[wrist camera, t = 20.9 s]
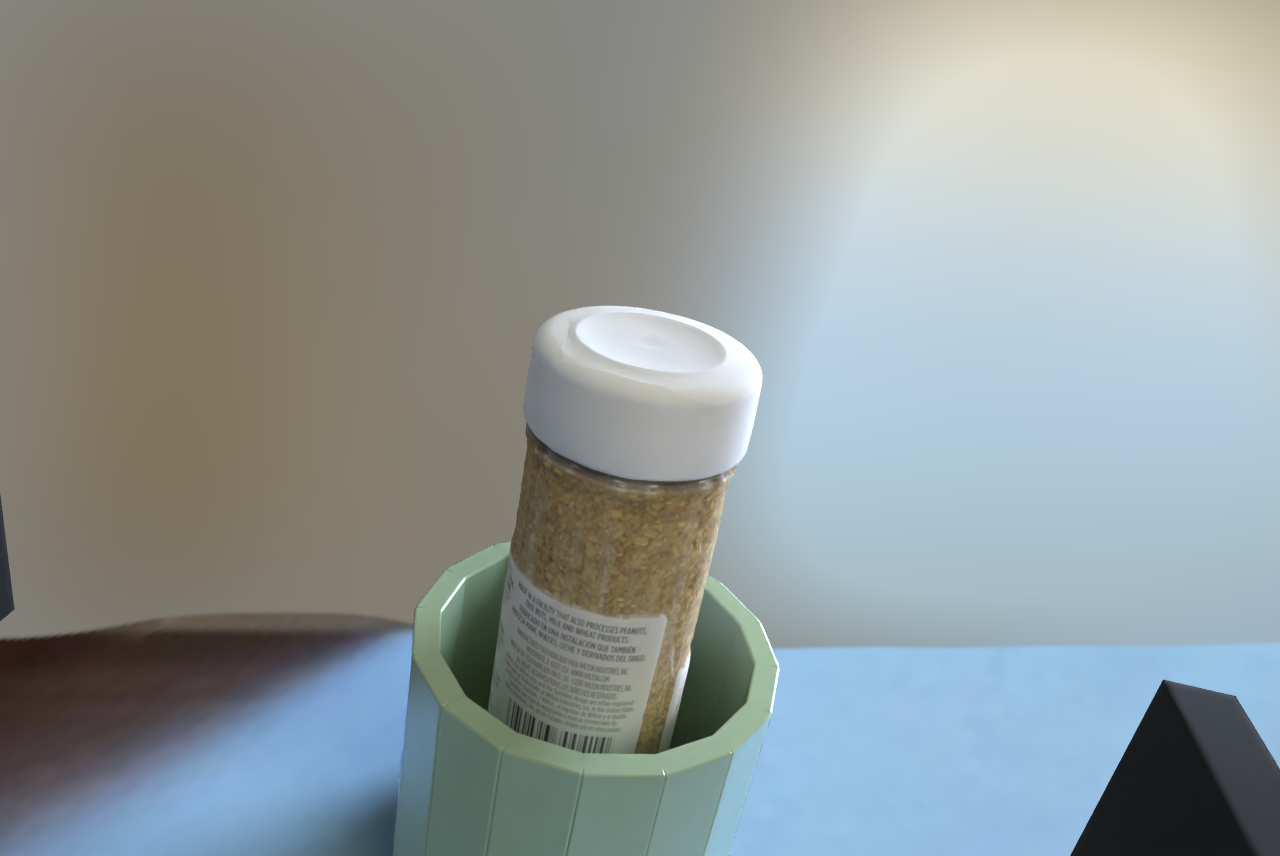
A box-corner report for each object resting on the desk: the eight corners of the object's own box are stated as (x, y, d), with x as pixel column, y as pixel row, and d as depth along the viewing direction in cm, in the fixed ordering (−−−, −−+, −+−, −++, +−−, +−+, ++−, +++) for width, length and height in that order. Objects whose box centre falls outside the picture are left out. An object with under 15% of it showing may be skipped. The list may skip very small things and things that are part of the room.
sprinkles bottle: (680, 830, 26) (808, 356, 20) (568, 948, 22) (684, 415, 16) (547, 736, 28) (628, 283, 22) (426, 831, 25) (483, 321, 19)
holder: (321, 854, 24) (331, 626, 21) (541, 695, 31) (574, 501, 28) (580, 1088, 21) (638, 850, 17) (770, 850, 27) (838, 645, 24)
